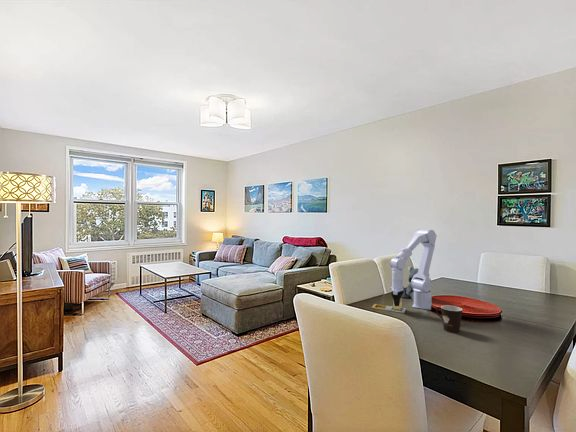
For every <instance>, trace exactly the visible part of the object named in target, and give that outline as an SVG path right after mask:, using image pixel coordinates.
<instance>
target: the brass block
mask: <svg viewBox="0 0 576 432" xmlns="http://www.w3.org/2000/svg"><path fill="white" fill-rule="evenodd" d="M392 306H393V309H392V310H399V311H402V308H403V297H402V296H401V298H400V304H399V306H395V305H394V300H393V299H392Z"/></svg>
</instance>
